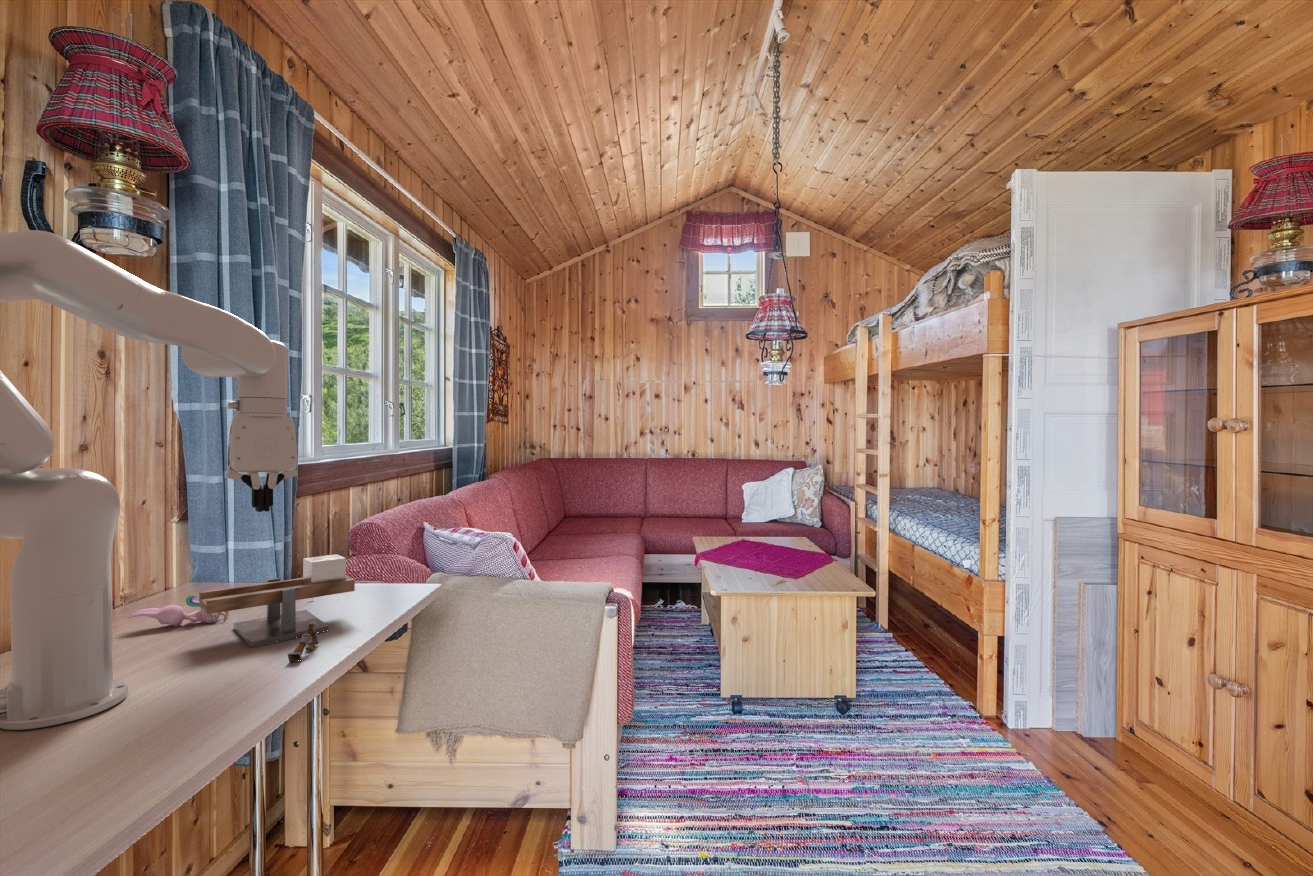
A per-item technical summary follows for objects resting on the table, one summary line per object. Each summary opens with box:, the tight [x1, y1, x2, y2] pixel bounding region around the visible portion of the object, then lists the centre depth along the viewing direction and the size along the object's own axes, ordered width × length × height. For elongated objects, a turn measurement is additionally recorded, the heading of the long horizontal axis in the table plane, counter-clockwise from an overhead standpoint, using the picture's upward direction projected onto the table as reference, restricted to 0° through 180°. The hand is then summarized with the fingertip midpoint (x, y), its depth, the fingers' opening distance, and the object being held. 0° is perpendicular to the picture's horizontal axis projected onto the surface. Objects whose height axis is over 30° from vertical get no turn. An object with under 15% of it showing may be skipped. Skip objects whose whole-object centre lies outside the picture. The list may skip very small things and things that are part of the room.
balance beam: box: [198, 574, 356, 614], centre depth 111 cm, size 23×8×2 cm, turn 135°
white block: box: [302, 553, 347, 586], centre depth 117 cm, size 6×5×5 cm
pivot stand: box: [233, 577, 330, 648], centre depth 111 cm, size 12×14×8 cm
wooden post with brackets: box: [286, 621, 320, 663], centre depth 100 cm, size 2×8×4 cm, turn 6°
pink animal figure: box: [127, 594, 230, 628], centre depth 114 cm, size 6×6×15 cm
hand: (262, 510), depth 109 cm, fingers closed
